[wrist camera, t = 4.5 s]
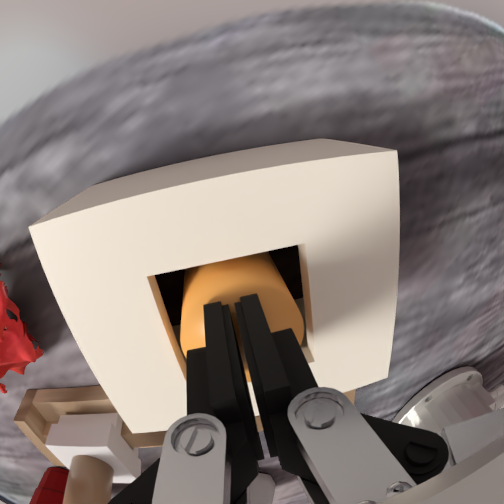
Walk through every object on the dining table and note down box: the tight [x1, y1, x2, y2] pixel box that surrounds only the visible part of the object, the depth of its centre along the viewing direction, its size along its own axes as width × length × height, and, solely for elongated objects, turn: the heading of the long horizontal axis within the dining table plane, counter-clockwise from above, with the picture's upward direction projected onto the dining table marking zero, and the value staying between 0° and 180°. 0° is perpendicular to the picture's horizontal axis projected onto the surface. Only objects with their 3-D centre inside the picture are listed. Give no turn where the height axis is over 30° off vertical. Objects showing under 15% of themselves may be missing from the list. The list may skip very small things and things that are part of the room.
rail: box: [14, 385, 355, 467], centre depth 19 cm, size 24×6×4 cm, turn 99°
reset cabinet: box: [29, 138, 400, 433], centre depth 14 cm, size 12×10×7 cm
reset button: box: [180, 251, 304, 382], centre depth 12 cm, size 4×4×5 cm
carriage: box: [45, 413, 141, 504], centre depth 15 cm, size 5×5×9 cm
